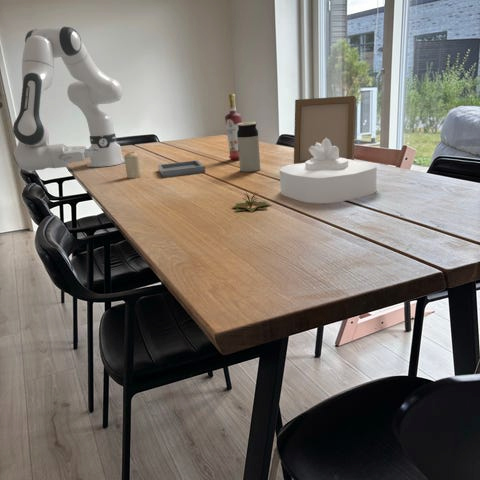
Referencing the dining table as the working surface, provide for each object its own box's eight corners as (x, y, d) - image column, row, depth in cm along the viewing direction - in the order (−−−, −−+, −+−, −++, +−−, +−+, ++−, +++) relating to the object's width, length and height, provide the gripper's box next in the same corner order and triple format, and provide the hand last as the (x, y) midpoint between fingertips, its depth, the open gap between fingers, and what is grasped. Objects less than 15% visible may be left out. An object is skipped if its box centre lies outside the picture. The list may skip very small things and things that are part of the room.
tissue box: (317, 207, 124) (316, 147, 119) (270, 191, 146) (267, 139, 141) (388, 191, 135) (390, 135, 129) (334, 178, 156) (334, 130, 151)
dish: (158, 170, 197) (157, 164, 196) (198, 165, 200) (197, 160, 200) (162, 177, 181) (161, 171, 180) (205, 172, 185) (204, 166, 184)
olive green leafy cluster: (230, 204, 136) (229, 189, 134) (271, 202, 135) (271, 186, 134) (228, 216, 124) (227, 199, 123) (273, 213, 124) (272, 196, 122)
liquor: (248, 158, 209) (243, 93, 200) (239, 161, 204) (234, 94, 195) (234, 157, 213) (229, 94, 204) (225, 160, 208) (219, 95, 198)
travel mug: (262, 168, 184) (259, 121, 178) (257, 172, 176) (253, 123, 171) (243, 168, 186) (240, 122, 180) (237, 172, 179) (233, 124, 173)
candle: (137, 178, 184) (134, 153, 181) (125, 178, 186) (121, 153, 182) (143, 175, 190) (139, 150, 186) (130, 175, 191) (127, 151, 187)
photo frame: (351, 168, 168) (351, 96, 161) (293, 168, 177) (291, 100, 169) (358, 161, 181) (358, 94, 174) (303, 162, 190) (301, 98, 182)
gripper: (55, 150, 167) (95, 146, 170) (61, 145, 186) (97, 141, 189) (59, 167, 169) (98, 163, 172) (64, 160, 188) (100, 157, 191)
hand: (97, 151), depth 181 cm, fingers open, 8 cm apart
